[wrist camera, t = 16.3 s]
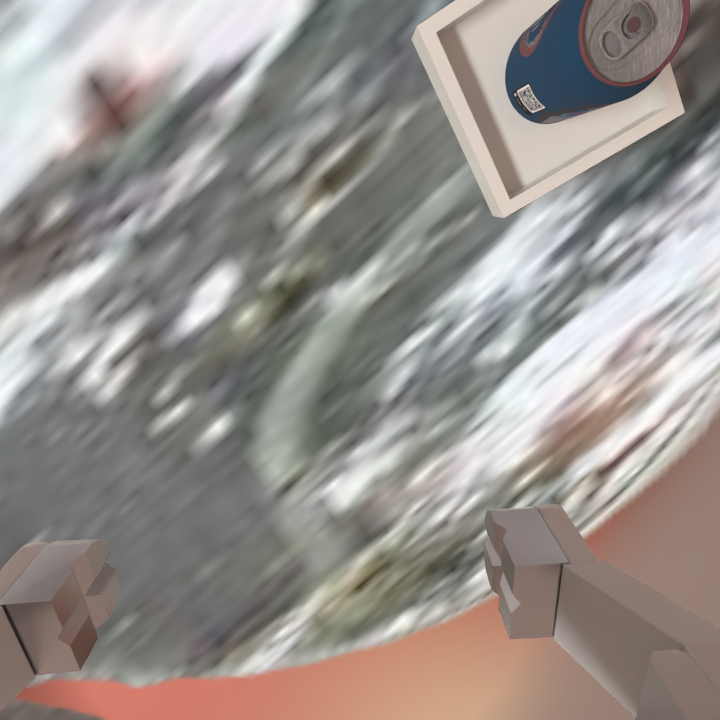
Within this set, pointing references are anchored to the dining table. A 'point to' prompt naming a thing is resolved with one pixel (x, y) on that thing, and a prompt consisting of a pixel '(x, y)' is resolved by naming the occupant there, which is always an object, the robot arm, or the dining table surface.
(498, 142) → the tray
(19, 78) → the dining table surface
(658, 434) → the dining table surface
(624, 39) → the soda can
